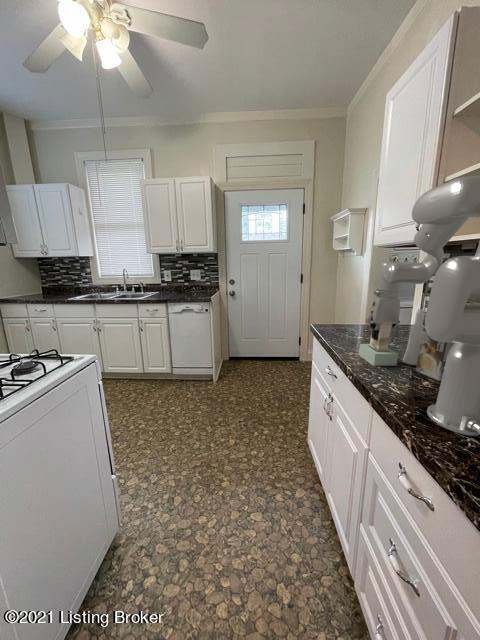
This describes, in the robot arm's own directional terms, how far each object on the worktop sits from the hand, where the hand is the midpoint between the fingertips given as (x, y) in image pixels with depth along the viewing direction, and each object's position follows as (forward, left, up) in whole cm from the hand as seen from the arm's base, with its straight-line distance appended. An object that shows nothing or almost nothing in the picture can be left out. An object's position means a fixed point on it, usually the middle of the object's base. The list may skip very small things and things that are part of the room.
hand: (379, 338), depth 108 cm
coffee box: (-14, -13, -10) cm, 21 cm away
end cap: (0, 0, -9) cm, 9 cm away
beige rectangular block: (0, 0, -4) cm, 4 cm away
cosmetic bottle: (-3, -13, -10) cm, 16 cm away
